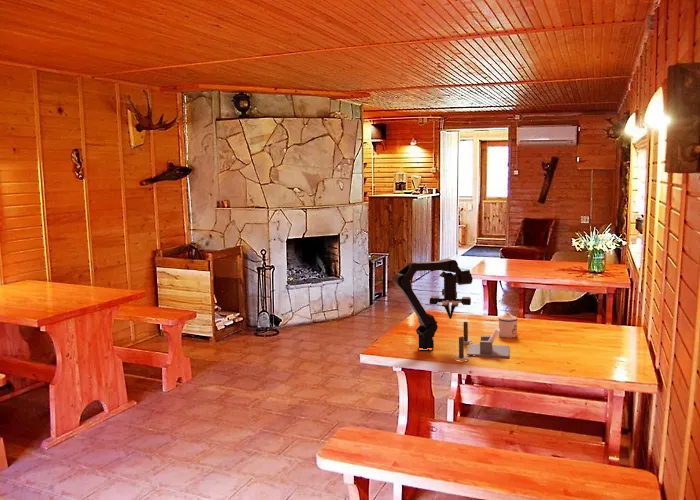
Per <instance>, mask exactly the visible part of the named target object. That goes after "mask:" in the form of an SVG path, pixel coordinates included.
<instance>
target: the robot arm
mask: <svg viewBox="0 0 700 500" xmlns="http://www.w3.org/2000/svg"><path fill="white" fill-rule="evenodd" d="M422 271H423V272H425V271H442V272H441V273H440V274H439V277H442V278H443V288H441V289H442V290H441V296H443V297H442V298H441V297H440V296H437V295H436V296H433V295H432V296H431V297H430V298H429V305H438V303H441V306H442V307H444V309H445V312H446V313H447V315H448V318H449V320H450V319H451V320H452V318H453V316H454V315H453V314H454V310H455V309H456V307H459V303H460V304H461V305H463V306H471V304H472V298H471V297H470V296H462V297H461V298H458V291H457V285H458V286H464V285H471V284H472V283H473V281H474V280H473V277H472V273H471V270H470V269H465V270H464V269H463V270H462V269H461V268H460V266H459V264H458V261H457V260H456V259H452V258H444V259H439V260H436V261H415V262H414V261H411V262H408V263H407V265H406V266H404V267H403V268H402V269H400V270H399V271H398V272H397V273H395V274H394V275H393V276H392V283H393V285H394V286H395V287H396V288H397V289H398V290H399V291H400V292H401V293H402V294H403V295H404V297H405V299H406V300H407V302H408V304H409V305H410V306H411V308H412V310H413V311H414V313H415V315H416V316H417V318H418V323H419V326H418V327H417V328H416V329H415V332H416V334H417V335H418V346H419V348H423V349H427V348H433V349H434V348H435V347H434V345H435V344H434V341H435V339H434V337H435V334H436V332H437V330H438V327H439V325H438V321H436V318H435V317H434V315H432V314H430V313H428V312H426V310H425V308H424V307H423V305H422V304H421V302H420V300H419V299H418V297H417V296H416V294H415V291H414V290H413V289H412V283H411V280H413V278H414V276H415V274H416V273H417V272H422ZM450 303H451V304H450ZM450 305H451V307H450Z"/></svg>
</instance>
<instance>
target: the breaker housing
mask: <svg viewBox="0 0 700 500" xmlns="http://www.w3.org/2000/svg"><path fill="white" fill-rule="evenodd" d="M490 336H491V335H480V340H479V344H475V343H472V344H468V348H467V352H466V356H467V355H475V356H487V357H486V358H496V357H500V359H504V358H505V359H510V345H497V344H493V343H492V341H488V340H489V338H490ZM475 356H474V357H475Z"/></svg>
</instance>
